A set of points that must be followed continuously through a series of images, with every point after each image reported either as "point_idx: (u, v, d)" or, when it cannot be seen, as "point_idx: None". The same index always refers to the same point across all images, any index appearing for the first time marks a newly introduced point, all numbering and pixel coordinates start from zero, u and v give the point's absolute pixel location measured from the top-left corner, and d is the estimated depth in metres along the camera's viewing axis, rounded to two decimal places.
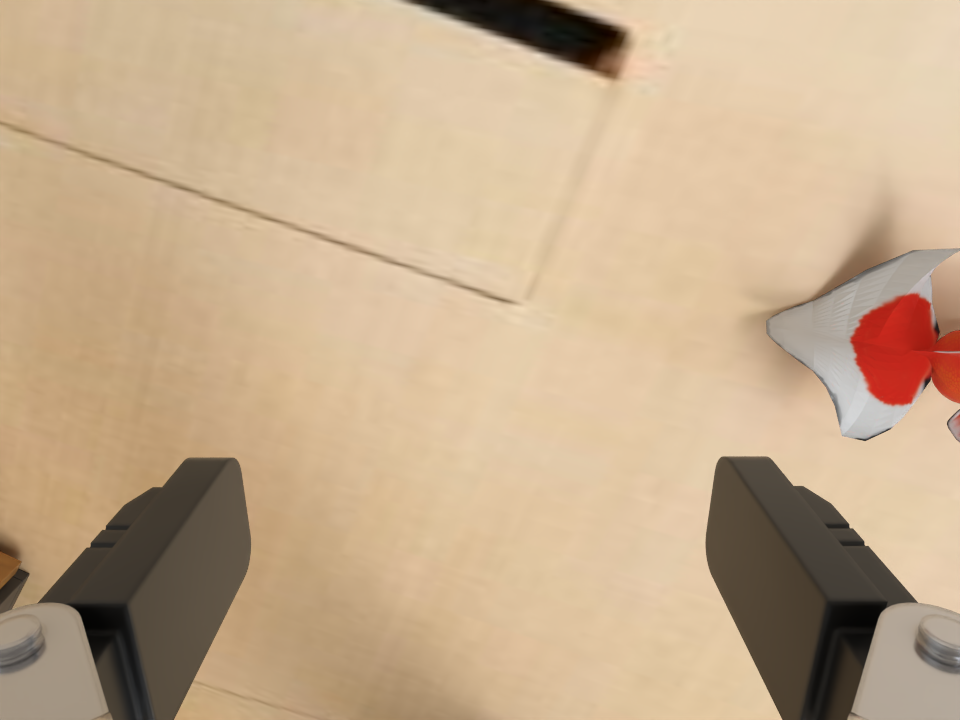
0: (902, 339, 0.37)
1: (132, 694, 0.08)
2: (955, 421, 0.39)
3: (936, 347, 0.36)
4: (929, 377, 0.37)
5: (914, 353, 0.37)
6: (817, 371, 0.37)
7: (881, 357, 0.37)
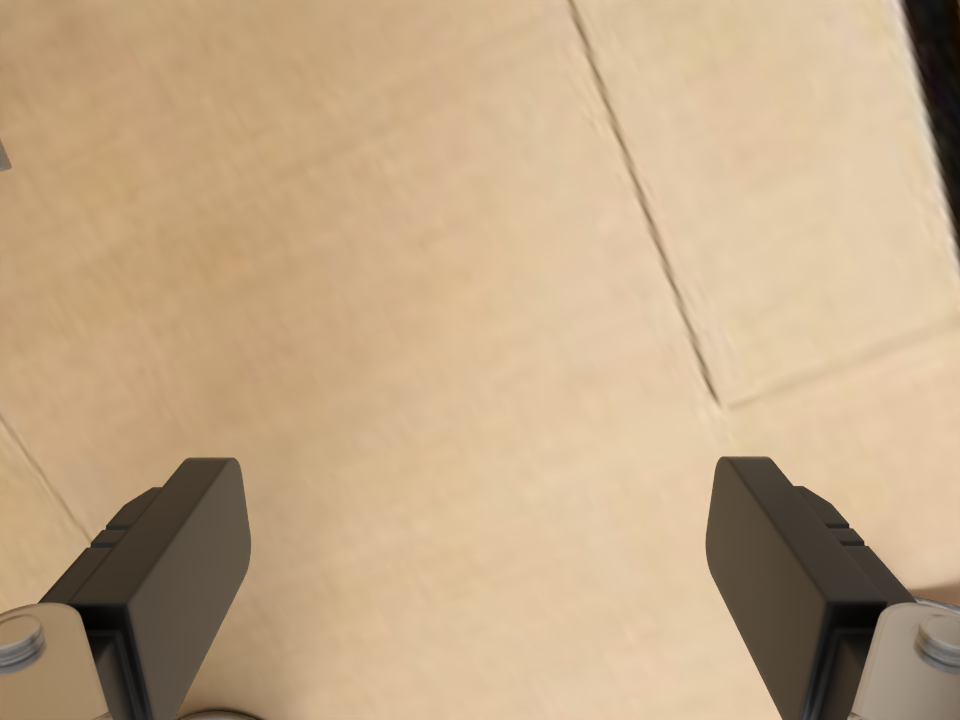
0: None
1: (132, 694, 0.08)
2: None
3: None
4: None
5: None
6: None
7: None
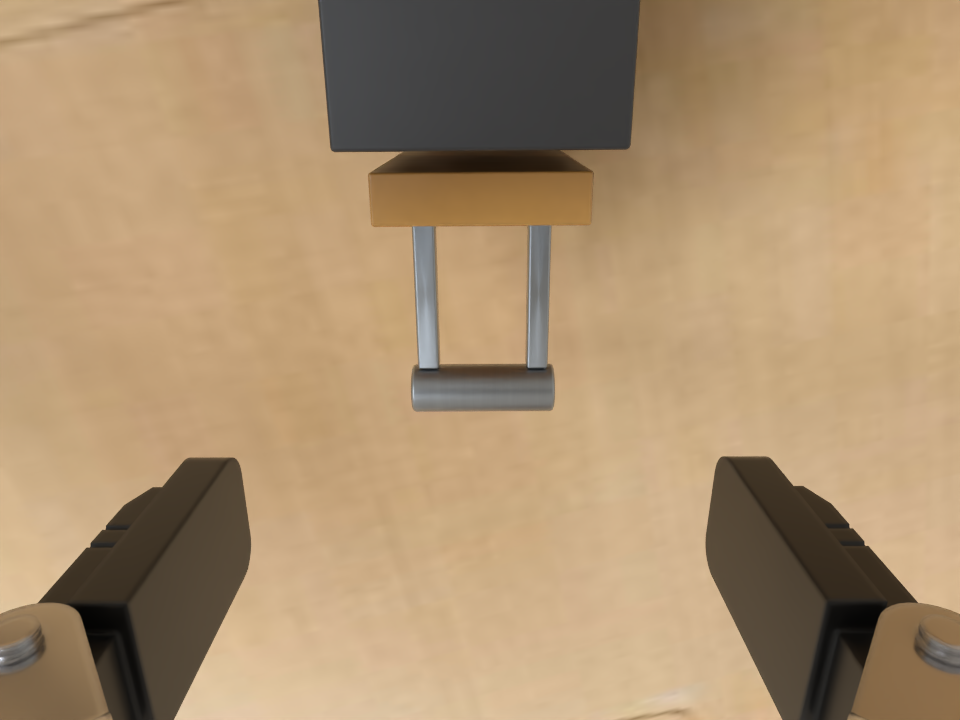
0: None
1: (132, 694, 0.08)
2: None
3: None
4: None
5: None
6: None
7: None
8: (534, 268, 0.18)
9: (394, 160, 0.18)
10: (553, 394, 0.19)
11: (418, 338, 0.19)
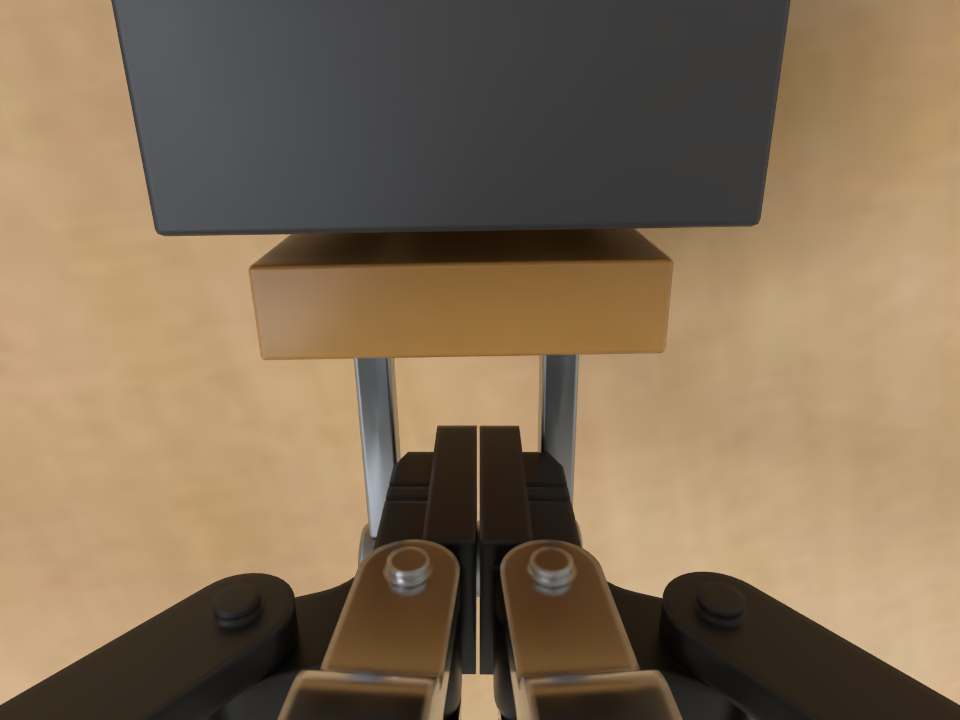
0: None
1: (462, 624, 0.09)
2: None
3: None
4: None
5: None
6: None
7: None
8: (551, 389, 0.11)
9: None
10: None
11: (367, 495, 0.12)
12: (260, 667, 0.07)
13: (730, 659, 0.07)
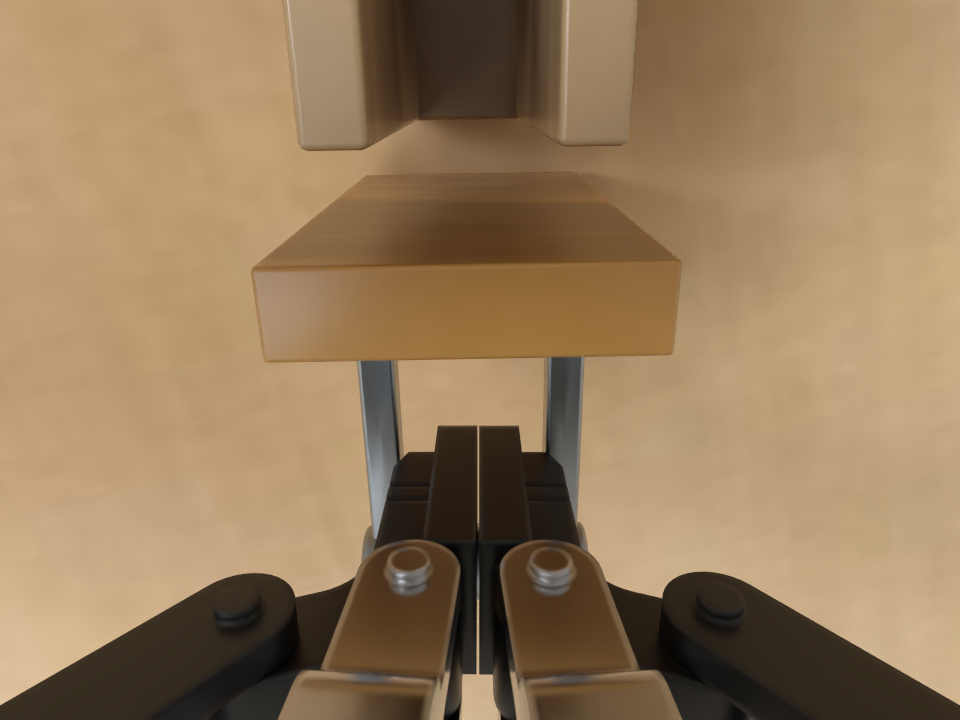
0: None
1: (462, 624, 0.09)
2: None
3: None
4: None
5: None
6: None
7: None
8: (556, 391, 0.11)
9: (323, 217, 0.11)
10: None
11: (371, 497, 0.12)
12: (261, 667, 0.07)
13: (730, 659, 0.07)
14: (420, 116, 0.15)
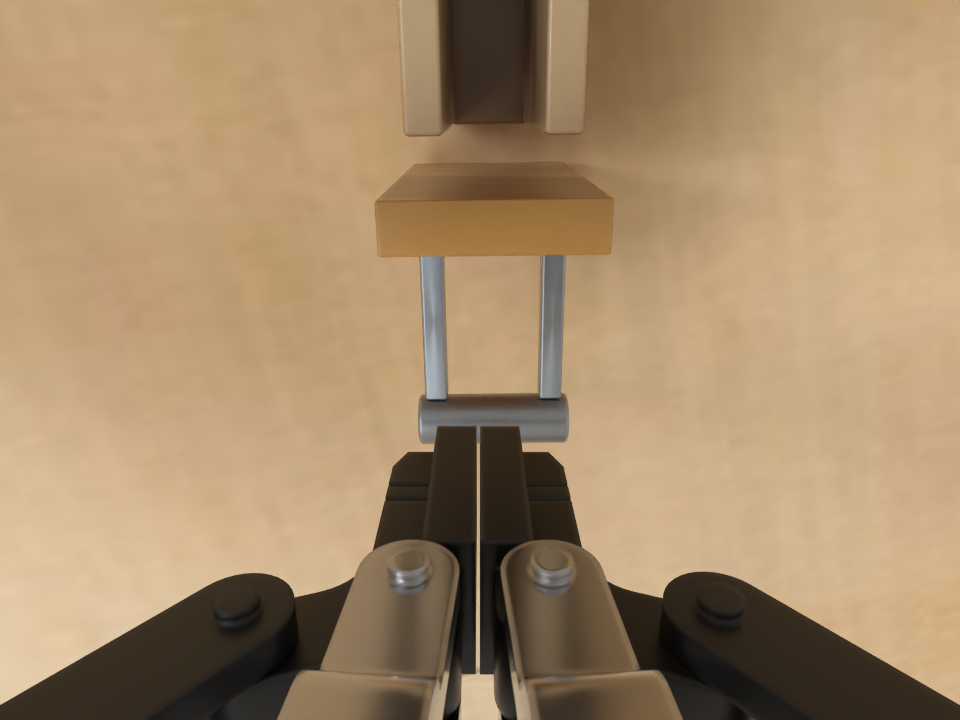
0: None
1: (462, 623, 0.09)
2: None
3: None
4: None
5: None
6: None
7: None
8: (547, 295, 0.17)
9: (400, 182, 0.17)
10: (567, 426, 0.18)
11: (425, 368, 0.18)
12: (260, 667, 0.07)
13: (730, 659, 0.07)
14: (456, 121, 0.21)
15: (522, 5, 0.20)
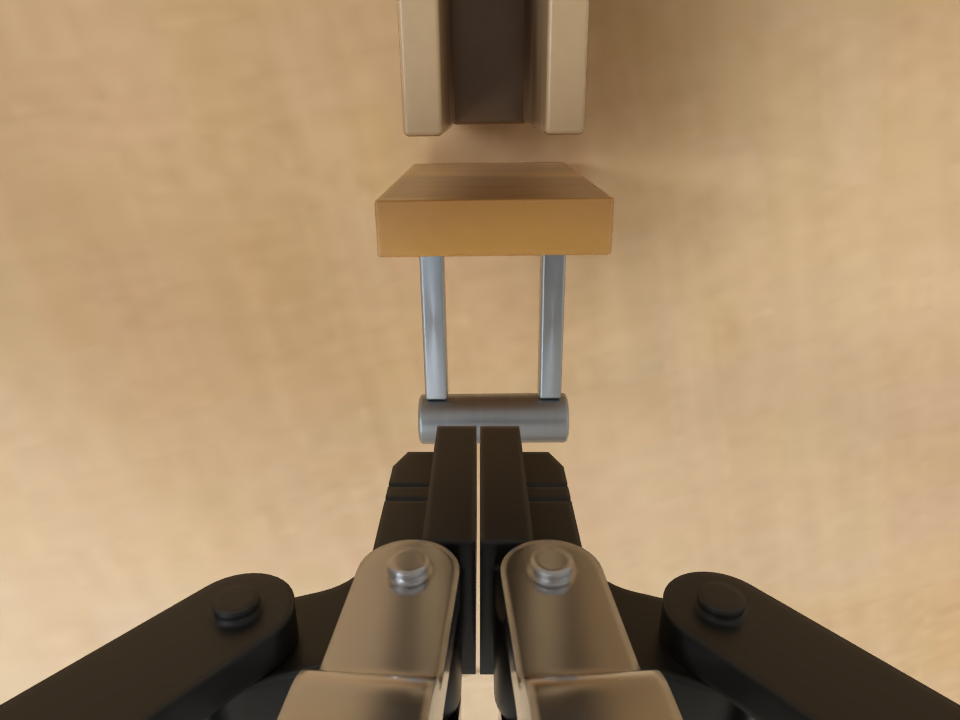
0: None
1: (462, 623, 0.09)
2: None
3: None
4: None
5: None
6: None
7: None
8: (547, 295, 0.17)
9: (400, 182, 0.17)
10: (567, 426, 0.18)
11: (425, 368, 0.18)
12: (260, 667, 0.07)
13: (730, 659, 0.07)
14: (456, 121, 0.21)
15: (522, 5, 0.20)
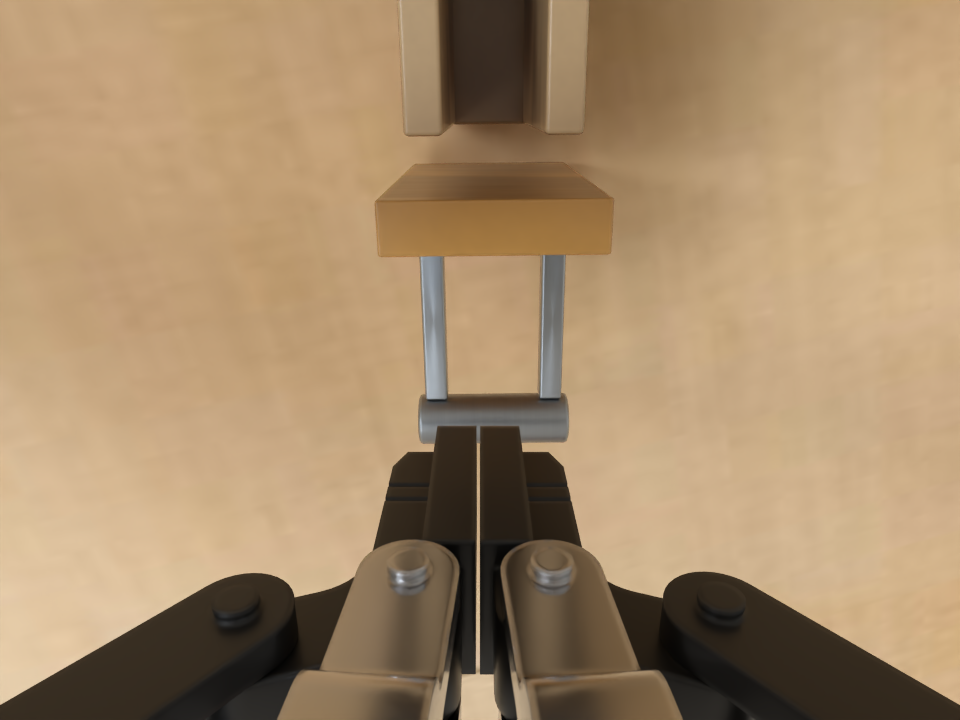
0: None
1: (462, 623, 0.09)
2: None
3: None
4: None
5: None
6: None
7: None
8: (547, 295, 0.17)
9: (400, 182, 0.17)
10: (567, 426, 0.18)
11: (425, 368, 0.18)
12: (260, 667, 0.07)
13: (730, 659, 0.07)
14: (456, 121, 0.21)
15: (522, 5, 0.20)
